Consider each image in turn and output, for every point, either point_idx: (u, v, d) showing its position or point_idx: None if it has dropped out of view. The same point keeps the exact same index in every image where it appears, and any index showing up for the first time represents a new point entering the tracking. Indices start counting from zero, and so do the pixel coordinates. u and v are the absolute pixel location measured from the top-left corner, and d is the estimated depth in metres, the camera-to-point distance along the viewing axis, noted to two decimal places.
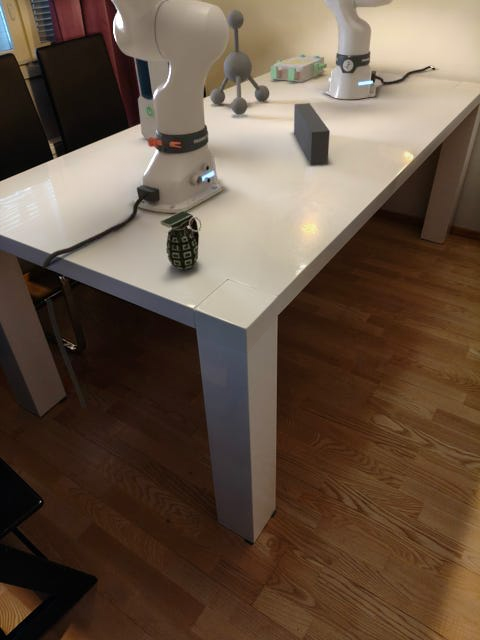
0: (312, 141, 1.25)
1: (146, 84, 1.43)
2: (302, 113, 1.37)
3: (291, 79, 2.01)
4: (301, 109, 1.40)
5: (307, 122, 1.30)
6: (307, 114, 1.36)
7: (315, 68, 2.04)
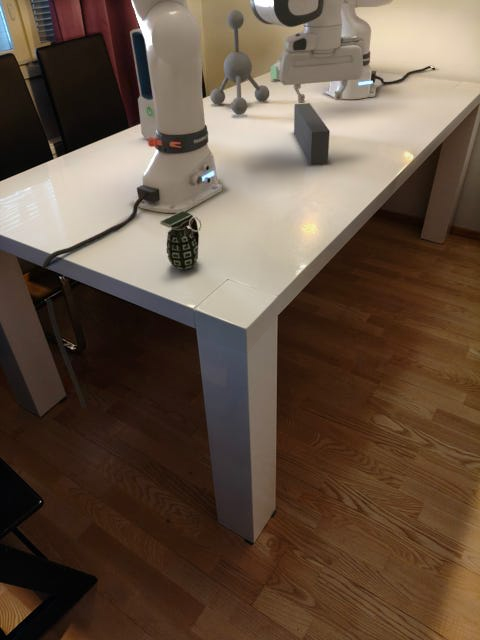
0: (312, 141, 1.25)
1: (146, 84, 1.43)
2: (302, 113, 1.37)
3: None
4: (301, 109, 1.40)
5: (307, 122, 1.30)
6: (307, 114, 1.36)
7: None
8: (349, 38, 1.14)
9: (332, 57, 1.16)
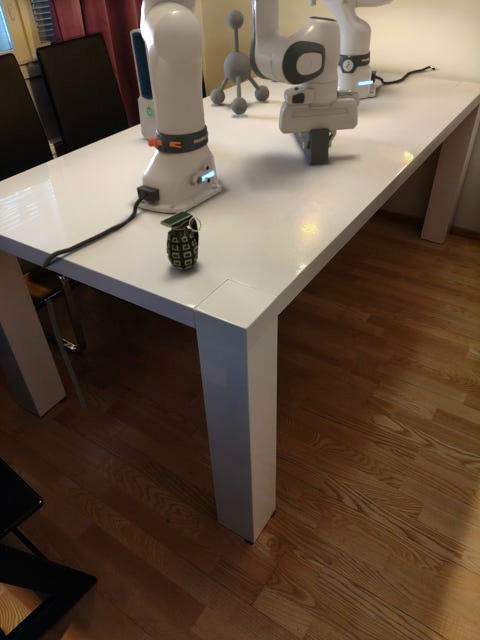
0: (312, 141, 1.25)
1: (146, 84, 1.43)
2: None
3: None
4: None
5: None
6: None
7: None
8: (344, 92, 1.22)
9: (329, 109, 1.23)
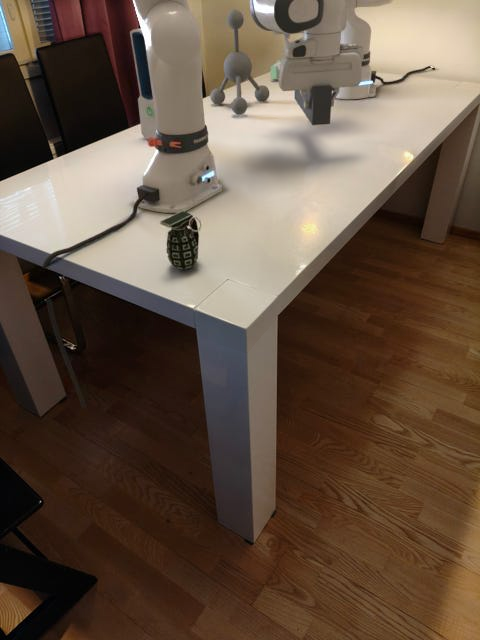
0: (314, 99, 1.19)
1: (146, 84, 1.43)
2: None
3: None
4: None
5: None
6: None
7: None
8: (348, 45, 1.15)
9: (331, 64, 1.17)
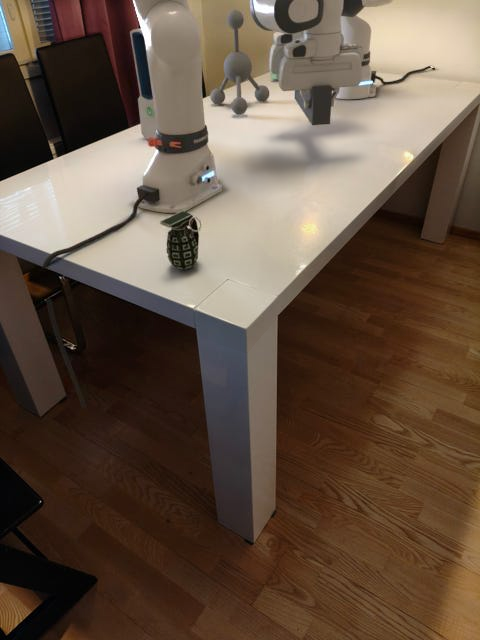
0: (314, 99, 1.19)
1: (146, 84, 1.43)
2: None
3: None
4: None
5: None
6: None
7: None
8: (348, 45, 1.15)
9: (331, 64, 1.17)
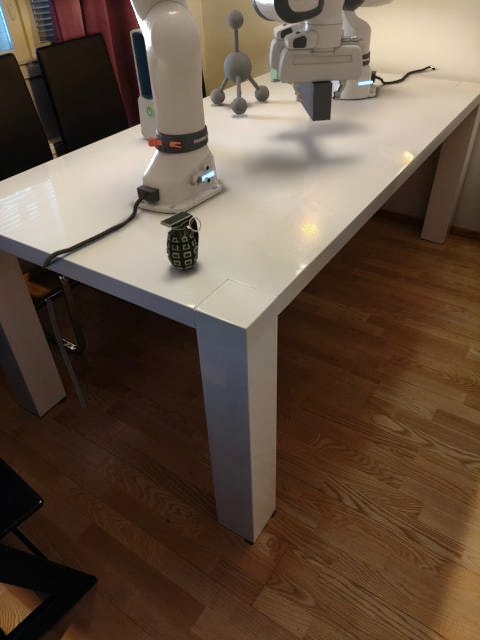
0: (314, 95, 1.19)
1: (146, 84, 1.43)
2: None
3: None
4: None
5: None
6: None
7: None
8: (349, 37, 1.14)
9: (332, 56, 1.15)
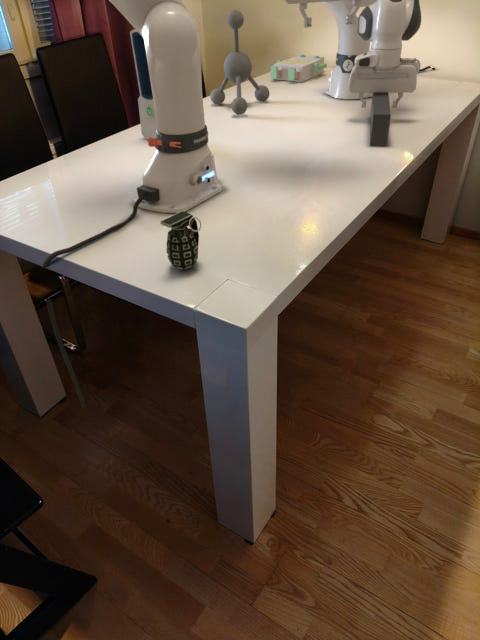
0: (373, 123, 1.35)
1: (146, 84, 1.43)
2: (375, 98, 1.46)
3: (291, 79, 2.01)
4: (376, 94, 1.49)
5: (374, 106, 1.39)
6: (379, 99, 1.45)
7: (315, 68, 2.04)
8: None
9: None
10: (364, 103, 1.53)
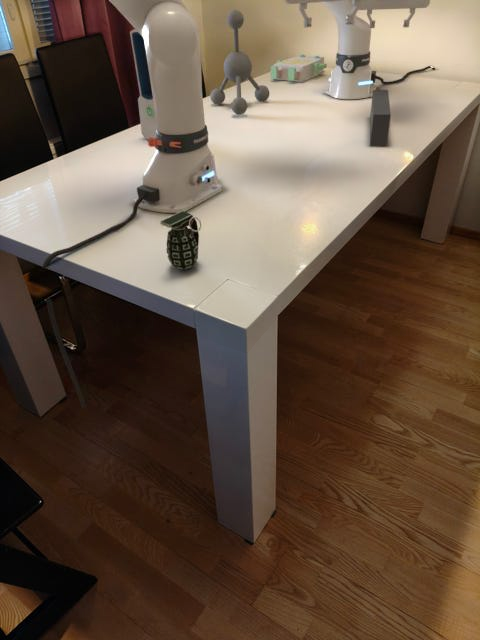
0: (373, 123, 1.35)
1: (146, 84, 1.43)
2: (375, 98, 1.46)
3: (291, 79, 2.01)
4: (376, 94, 1.49)
5: (374, 106, 1.39)
6: (379, 99, 1.45)
7: (315, 68, 2.04)
8: None
9: None
10: (372, 23, 1.39)
